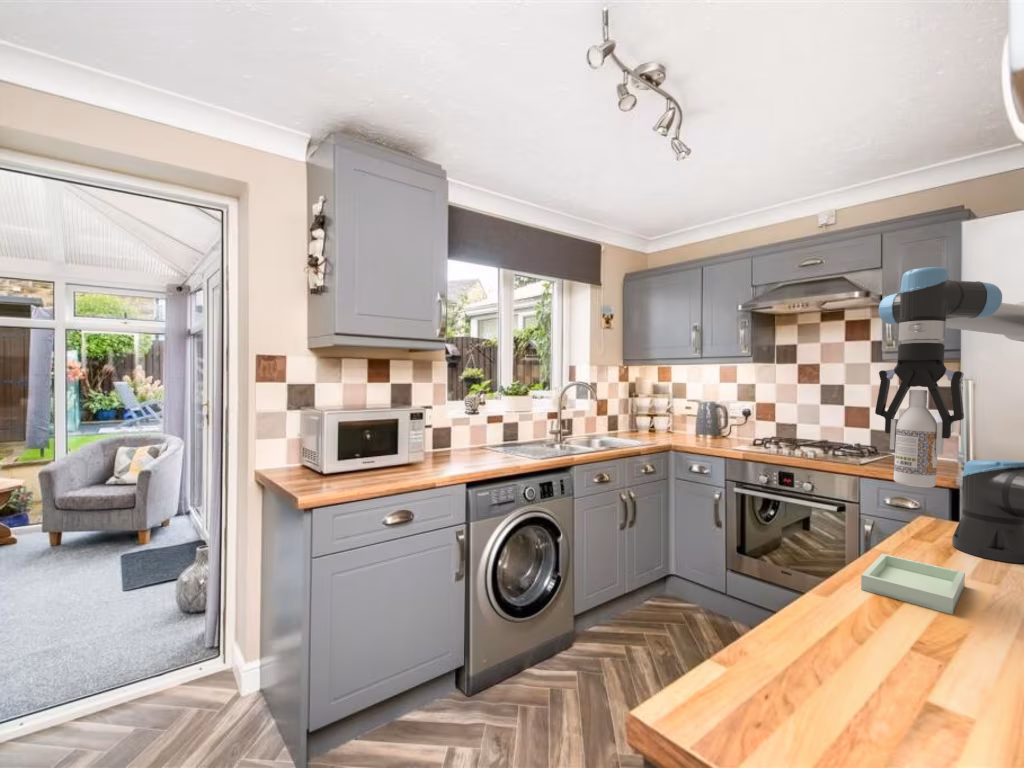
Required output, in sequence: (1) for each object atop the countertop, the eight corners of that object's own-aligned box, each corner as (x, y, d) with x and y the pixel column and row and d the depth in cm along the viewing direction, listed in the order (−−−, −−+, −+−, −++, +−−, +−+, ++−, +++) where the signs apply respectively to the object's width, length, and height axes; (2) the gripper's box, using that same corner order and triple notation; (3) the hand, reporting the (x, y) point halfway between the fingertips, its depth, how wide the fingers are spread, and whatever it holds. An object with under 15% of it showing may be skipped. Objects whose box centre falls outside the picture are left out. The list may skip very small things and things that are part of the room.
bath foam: (932, 489, 99) (937, 390, 98) (890, 483, 104) (894, 389, 103) (938, 485, 103) (942, 390, 103) (897, 479, 108) (901, 389, 108)
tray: (881, 566, 112) (882, 553, 112) (964, 586, 102) (964, 572, 102) (861, 589, 100) (861, 574, 100) (952, 614, 90) (953, 598, 90)
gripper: (859, 343, 108) (855, 446, 108) (983, 340, 93) (977, 460, 93) (869, 345, 113) (864, 444, 113) (988, 342, 98) (982, 456, 98)
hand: (915, 451), depth 103 cm, fingers closed on bath foam, 7 cm apart
